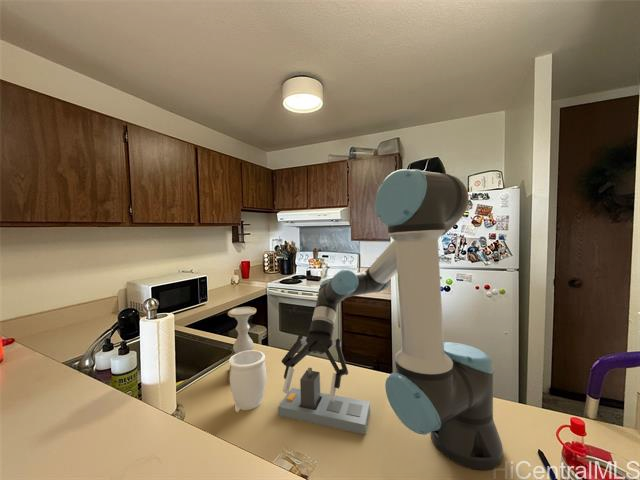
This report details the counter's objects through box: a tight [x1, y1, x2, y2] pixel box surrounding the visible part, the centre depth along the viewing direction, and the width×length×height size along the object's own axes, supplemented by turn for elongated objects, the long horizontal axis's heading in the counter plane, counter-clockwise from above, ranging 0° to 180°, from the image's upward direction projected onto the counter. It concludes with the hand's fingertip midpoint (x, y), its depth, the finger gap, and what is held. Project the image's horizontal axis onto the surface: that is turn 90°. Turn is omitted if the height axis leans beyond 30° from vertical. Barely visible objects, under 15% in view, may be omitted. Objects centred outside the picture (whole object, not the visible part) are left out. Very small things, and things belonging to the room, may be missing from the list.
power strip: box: [277, 387, 371, 435], centre depth 72 cm, size 24×9×4 cm, turn 72°
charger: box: [299, 367, 321, 410], centre depth 73 cm, size 4×5×12 cm
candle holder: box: [227, 306, 257, 385], centre depth 96 cm, size 11×11×24 cm
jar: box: [228, 349, 267, 413], centre depth 78 cm, size 11×10×15 cm
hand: (307, 396), depth 71 cm, fingers open, 13 cm apart
